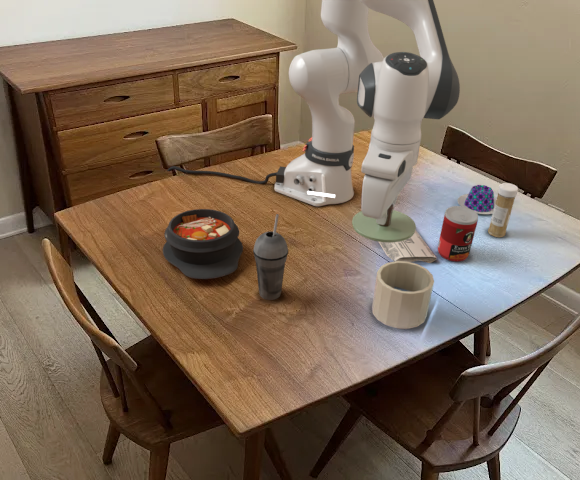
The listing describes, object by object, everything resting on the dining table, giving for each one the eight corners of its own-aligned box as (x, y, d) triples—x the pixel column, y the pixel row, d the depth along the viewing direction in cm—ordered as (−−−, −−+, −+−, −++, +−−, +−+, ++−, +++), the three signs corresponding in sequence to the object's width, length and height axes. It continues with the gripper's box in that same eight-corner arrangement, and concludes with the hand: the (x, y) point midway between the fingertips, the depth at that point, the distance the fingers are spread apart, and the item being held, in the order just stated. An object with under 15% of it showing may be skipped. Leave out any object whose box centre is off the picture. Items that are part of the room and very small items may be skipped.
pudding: (499, 220, 163) (503, 202, 160) (454, 211, 166) (458, 194, 162) (502, 200, 172) (506, 183, 169) (459, 192, 175) (463, 176, 172)
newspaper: (359, 220, 159) (361, 212, 158) (402, 221, 163) (404, 212, 161) (388, 267, 142) (391, 258, 140) (436, 267, 145) (438, 258, 143)
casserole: (156, 233, 150) (152, 203, 145) (230, 224, 155) (229, 194, 150) (172, 291, 131) (168, 259, 126) (255, 278, 136) (255, 247, 131)
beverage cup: (252, 285, 134) (252, 205, 122) (285, 285, 135) (288, 205, 123) (253, 306, 128) (253, 223, 116) (287, 305, 129) (291, 223, 117)
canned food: (450, 265, 144) (459, 225, 137) (430, 248, 150) (438, 209, 143) (475, 258, 147) (485, 218, 140) (454, 242, 153) (463, 203, 146)
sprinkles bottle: (508, 235, 157) (522, 188, 148) (496, 239, 154) (509, 192, 146) (495, 227, 160) (508, 180, 151) (483, 231, 157) (495, 184, 149)
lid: (342, 235, 116) (344, 211, 113) (364, 208, 125) (366, 185, 122) (404, 251, 112) (408, 227, 109) (422, 222, 121) (426, 198, 118)
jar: (364, 320, 126) (369, 283, 120) (381, 291, 134) (387, 255, 129) (417, 336, 122) (425, 299, 117) (431, 306, 131) (439, 269, 125)
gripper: (394, 128, 118) (385, 193, 126) (358, 167, 102) (351, 238, 111) (426, 134, 116) (415, 200, 124) (394, 175, 100) (383, 246, 109)
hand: (384, 218), depth 117 cm, fingers closed on lid, 2 cm apart
